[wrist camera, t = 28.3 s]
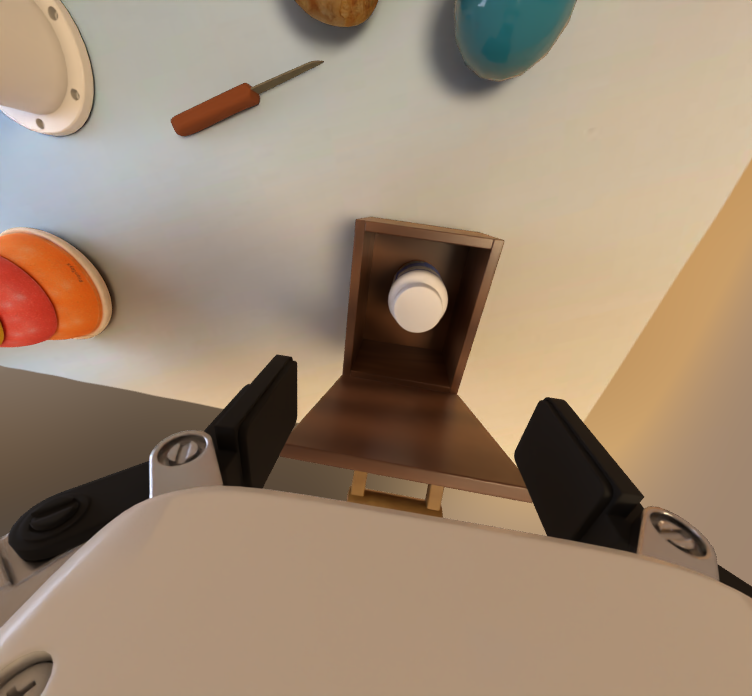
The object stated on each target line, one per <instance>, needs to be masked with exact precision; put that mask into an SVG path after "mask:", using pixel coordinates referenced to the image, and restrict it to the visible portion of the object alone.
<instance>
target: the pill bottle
mask: <svg viewBox="0 0 752 696" xmlns="http://www.w3.org/2000/svg"><path fill="white" fill-rule="evenodd" d="M447 304H448V295H447V291H446V288H445V285H444V283H443V281H442V279H441V276H440V274H439V272H438V271H437V269H436V268H435V267H434V266H433V265H431V264H430V263H428V262H426V261H422V260H414V261H410V262H408V263H406V264H404V265H403V266H402V267H401V268H400V269H399V270H398V271H397V273H396V274H395V276H394V279H393V282H392V286H391V289H390V292H389V296H388V305H389V310H390V312H391V314H392V316H393V317H394V318H395V320H396V321H397V322H398V324H399V325H400V326H401V327H402V328H404V329H405V330H407V331H410V332H414V333H421V332H425V331H428V330H430V329H432V328H433V327H434V326H435V325H436V324H437V323H438V322H439V320H440V319H441V317H442V316H443V315H444V313H445V311H446V308H447Z"/></svg>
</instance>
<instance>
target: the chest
mask: <svg viewBox="0 0 752 696" xmlns="http://www.w3.org/2000/svg"><path fill="white" fill-rule="evenodd" d="M503 244H504V240H501V239H498V238H495V237H492V236H489V235H486V234H483V233H480V232H473V231H466V230H459V229H452V228H445V227H439V226H432V225H425V224H418V223H411V222H404V221H397V220H390V219H383V218H376V217H367V218H360V219H356V222H355V234H354V246H353V258H352V269H351V281H350V293H349V304H348V316H347V328H346V340H345V351H344V363H343V375H345V376H350V377H356V378H362V379H368V380H374V381H380V382H386V383H392V384H398V385H404V386H409V387H415V388H421V389H427V390H433V391H439V392H445V393H451V394H457V392H458V389H459V386H460V383H461V379H462V376H463V373H464V370H465V367H466V363H467V360H468V357H469V354H470V350H471V347H472V344H473V341H474V338H475V334H476V331H477V328H478V325H479V321H480V318H481V315H482V312H483V309H484V305H485V302H486V299H487V296H488V292H489V289H490V286H491V283H492V280H493V276H494V273H495V270H496V267H497V264H498V260H499V257H500V254H501V251H502V247H503ZM414 260H422V261H426V262H428V263H430V264H431V265H433V266H434V267H435V268H436V269H437V271H438V272H439V274H440V276H441V279H442V281H443V283H444V285H445V288H446V291H447V295H448V304H447V308H446V311H445V313H444V315H443V316H442V317H441V319H440V320H439V322H438V323H437V324H436V325H435V326H434V327H433V328H432V329H430V330H428V331H425V332H421V333H414V332H410V331H407V330H405V329H404V328H402V327H401V326H400V325H399V324H398V322H397V321H396V320H395V318H394V317H393V316H392V314H391V312H390V310H389V305H388V296H389V292H390V289H391V286H392V282H393V279H394V276H395V274H396V273H397V271H398V270H399V269H400V268H401V267H402V266H403V265H404V264H406V263H408V262H410V261H414Z"/></svg>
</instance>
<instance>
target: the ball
mask: <svg viewBox="0 0 752 696" xmlns="http://www.w3.org/2000/svg"><path fill="white" fill-rule="evenodd" d="M576 1H577V0H456V1H455V5H454V25H455V41H456V44H457V46H458V49H459V51H460V53H461V56H462V58H463V60H464V63H465V65H466V66H467V67H468V68H469V69H470V70H471V71H473V72H474V73H475V74H476V75H477V76H478V77H479V78H482V79H487V80H492V81H497V82H500V81H504V80H507V79H511V78H514V77H517V76H521V75H522V74H523V73H525V72H526V71H527V70H529V69H530V68H531V67H532V66H534V65H535V64H536V63H538V62H539V61H540V60H541V59H543V58H544V57H545V56H546V55H547V54H548V52H549V51H550V49H551V48H552V46H553V45H554V44H555V42H556V41H557V39H558V38H559V36H560V35H561V34H562V32H563V31H564V29H565V28H566V26H567V25H568V23H569V21H570V18H571V15H572V12H573V9H574V7H575V4H576Z"/></svg>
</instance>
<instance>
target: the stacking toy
mask: <svg viewBox="0 0 752 696" xmlns="http://www.w3.org/2000/svg"><path fill="white" fill-rule="evenodd" d="M111 314H112V303H111V298H110V294H109V291H108V289H107V286H106V284H105V282H104V280H103V279H102V277H101V275H100V274H99V272H98V271H97V270H96V268H95V267H94V266H93V264H92V263H91V262H90V261H89V260H88V259H87V258H86V257H85V256H84V255H83V254H82V253H81V252H80V251H78V250H77V249H76V248H75V247H73V246H72V245H70V244H69V243H67V242H66V241H64V240H63V239H61V238H59V237H57V236H55V235H53V234H50V233H48V232H45V231H42V230H38V229H33V228H27V227H16V228H11V229H8V230H6V231H4V232H2V233H1V234H0V347H21V346H28V345H33V344H37V343H40V342H43V341H46V340H62V339H70V338H72V339H88V338H91V337H94V336H96V335H98V334H99V333H101V332H102V331H103V330H104V329H105V328H106V327H107V325H108V323H109V321H110V318H111Z"/></svg>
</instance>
